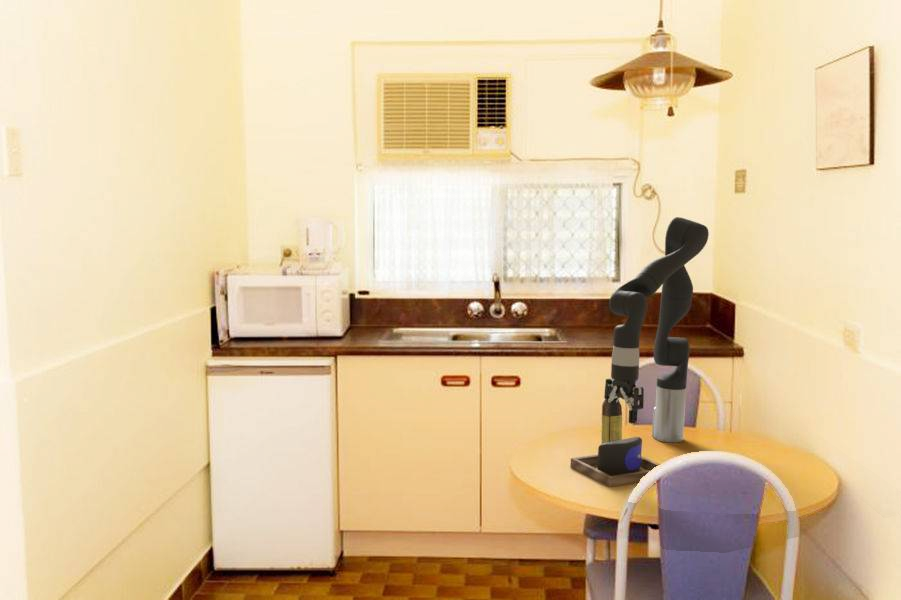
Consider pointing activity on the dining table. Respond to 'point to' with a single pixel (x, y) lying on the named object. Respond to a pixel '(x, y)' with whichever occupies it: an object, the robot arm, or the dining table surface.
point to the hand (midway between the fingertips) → (622, 419)
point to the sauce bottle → (611, 423)
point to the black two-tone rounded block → (620, 456)
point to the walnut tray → (584, 467)
